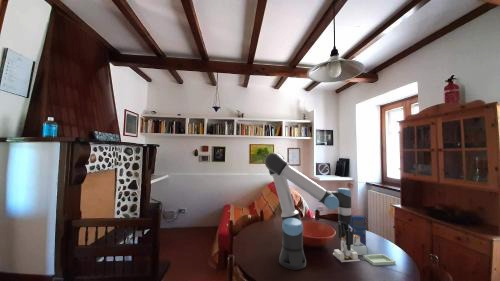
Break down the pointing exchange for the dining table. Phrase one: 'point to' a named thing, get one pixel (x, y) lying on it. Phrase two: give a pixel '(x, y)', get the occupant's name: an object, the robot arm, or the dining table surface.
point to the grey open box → (360, 249)
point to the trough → (379, 259)
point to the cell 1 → (343, 245)
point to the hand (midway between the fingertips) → (345, 253)
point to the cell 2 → (356, 240)
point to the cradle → (340, 255)
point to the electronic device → (359, 227)
